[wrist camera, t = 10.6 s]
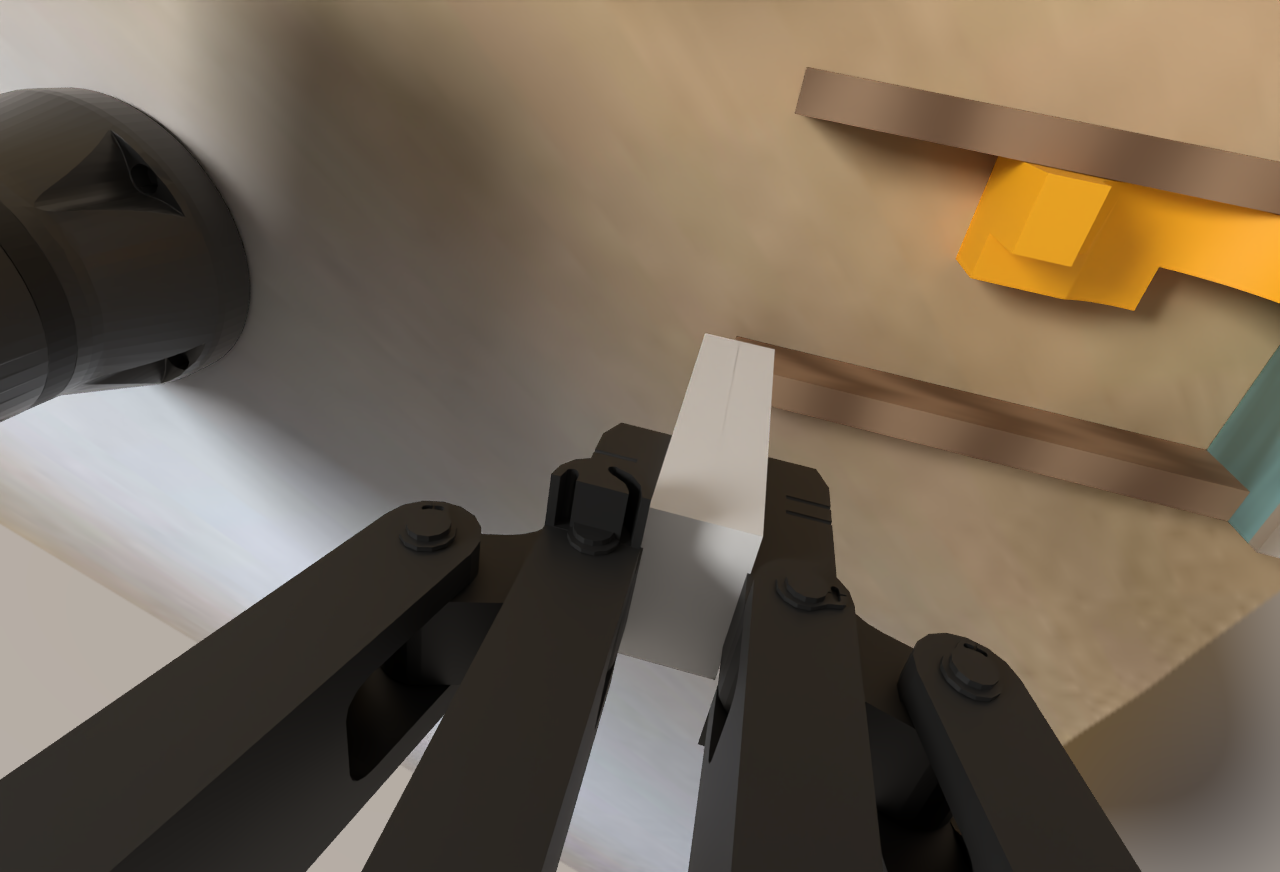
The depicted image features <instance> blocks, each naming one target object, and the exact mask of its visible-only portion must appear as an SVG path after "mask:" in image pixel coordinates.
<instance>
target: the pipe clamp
mask: <svg viewBox="0 0 1280 872" xmlns="http://www.w3.org/2000/svg"><path fill="white" fill-rule="evenodd" d="M956 260H957V261H958V262H959V264H960V265H961V266H962V268H963V269H964V270H965V272H966V273H967V274H968V276H969V277H970V278H973V279H977V280H981V281H986V282H990V283H994V284H999V285H1003V286H1008V287H1012V288H1016V289H1021V290H1025V291H1029V292H1034V293H1038V294H1043V295H1047V296H1051V297H1056V298H1060V299H1068V300H1080V301H1088V302H1095V303H1100V304H1106V305H1111V306H1116V307H1120V308H1124V309H1129V310H1133V311H1134V310H1135V308H1136V306H1137V305H1138V303H1139V301H1140V299H1141V298H1142V296H1143V294H1144V292H1145V291H1146V289H1147V287H1148V285H1149V284H1150V282H1151V280H1152V278H1153V277H1154V275H1155V273H1156V271H1157V270H1158V268H1159V267H1161V268H1165V269H1169V270H1173V271H1177V272H1181V273H1185V274H1189V275H1192V276H1196V277H1199V278H1203V279H1206V280H1210V281H1213V282H1217V283H1220V284H1223V285H1227V286H1230V287H1233V288H1236V289H1239V290H1242V291H1245V292H1248V293H1251V294H1254V295H1257V296H1260V297H1263V298H1266V299H1269V300H1272V301H1275V302H1277V303H1280V214H1275V213H1271V212H1266V211H1261V210H1256V209H1251V208H1247V207H1242V206H1237V205H1232V204H1227V203H1222V202H1218V201H1213V200H1208V199H1203V198H1198V197H1194V196H1189V195H1184V194H1179V193H1174V192H1170V191H1165V190H1160V189H1155V188H1150V187H1145V186H1141V185H1136V184H1131V183H1126V182H1121V181H1117V180H1112V179H1107V178H1102V177H1097V176H1092V175H1088V174H1083V173H1078V172H1073V171H1068V170H1064V169H1059V168H1054V167H1049V166H1044V165H1040V164H1035V163H1030V162H1025V161H1020V160H1015V159H1011V158H1006V157H1001V156H998V158H997V160H996V163H995V165H994V167H993V170H992V172H991V175H990V177H989V180H988V182H987V184H986V187H985V189H984V192H983V194H982V197H981V199H980V201H979V204H978V206H977V209H976V211H975V213H974V216H973V218H972V221H971V223H970V226H969V228H968V230H967V233H966V235H965V238H964V240H963V243H962V245H961V247H960V250H959V252H958V255H957V257H956Z"/></svg>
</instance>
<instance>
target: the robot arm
mask: <svg viewBox="0 0 1280 872" xmlns="http://www.w3.org/2000/svg"><path fill="white" fill-rule="evenodd" d="M249 296H250V284H249V273H248V267H247V261H246V257H245V252H244V249H243V245H242V242H241V239H240V236H239V233H238V230H237V228H236V226H235V223H234V221H233V219H232V216H231V214H230V212H229V210H228V208H227V206H226V204H225V202H224V201H223V199H222V197H221V195H220V194H219V192H218V190H217V189H216V187H215V186H214V184H213V183H212V181H211V180H210V178H209V177H208V175H207V174H206V173H205V171H204V170H203V169H202V167H201V166H200V165H199V164H198V162H197V161H196V160H195V159H194V158H193V156H192V155H191V154H190V153H189V152H188V151H187V150H186V149H185V148H184V147H183V146H182V145H181V144H180V143H179V142H178V141H177V140H176V139H175V138H174V137H173V136H172V135H171V134H170V133H169V132H167V131H166V130H165V129H164V128H163V127H161V126H160V125H159V124H158V123H156V122H155V121H154V120H152V119H151V118H149V117H148V116H147V115H145V114H144V113H142V112H140V111H139V110H137V109H136V108H134V107H132V106H130V105H128V104H126V103H124V102H123V101H120V100H118V99H116V98H114V97H111V96H108V95H105V94H103V93H99V92H96V91H92V90H87V89H81V88H37V89H21V90H15V91H11V92H6V93H2V94H0V422H2V421H4V420H6V419H9V418H11V417H13V416H15V415H17V414H20V413H21V412H23V411H25V410H28V409H30V408H32V407H35V406H37V405H39V404H41V403H44V402H46V401H48V400H51V399H53V398H55V397H58V396H61V395H68V394H77V393H86V392H95V391H104V390H113V389H121V388H130V387H139V386H148V385H157V384H163V383H167V382H171V381H175V380H178V379H181V378H183V377H186V376H188V375H190V374H192V373H194V372H196V371H198V370H200V369H202V368H204V367H206V366H208V365H210V364H212V363H214V362H216V361H217V360H219V359H220V358H222V357H223V356H224V355H225V354H226V353H227V352H228V351H229V350H230V349H231V348H232V347H233V345H234V344H235V343H236V341H237V340H238V338H239V336H240V334H241V332H242V330H243V327H244V324H245V321H246V318H247V313H248V307H249ZM774 352H775V349H771V348H767V347H762V346H758V345H754V344H750V343H745V342H741V341H737V340H733V339H728V338H724V337H720V336H716V335H711V334H707V333H705V335H704V338H703V341H702V344H701V347H700V350H699V354H698V357H697V360H696V363H695V366H694V369H693V372H692V375H691V378H690V382H689V385H688V388H687V391H686V394H685V397H684V400H683V403H682V406H681V410H680V413H679V416H678V419H677V422H676V425H675V428H674V431H673V434H672V435H669V434H665V433H660V432H656V431H652V430H648V429H644V428H640V427H636V426H632V425H628V424H624V423H620V424H618V425H617V426H615V427H613V428H612V429H610V430H608V431H607V432H605V433H603V435H602V437H601V439H600V441H599V443H598V445H597V447H596V449H595V452H594V453H593V455H592V457H591V458H588V459H576V460H573V461H570V462H568V463H565V464H562V465H560V466H559V467H558V468H557V469H556V470H555V471H554V472H553V473H552V474H551V481H550V489H549V497H548V505H547V513H546V520H545V525H544V527H543V529H541V530H539V531H536V532H532V533H527V534H520V535H492V534H481V526H480V524H479V523H478V521H477V519H476V518H475V516H474V515H472V514H471V513H469V512H468V511H466V510H465V509H464V508H462V507H460V506H456V505H453V504H449V503H446V502H437V501H421V502H415V503H410V504H405V505H402V506H400V507H398V508H396V509H394V510H392V511H390V512H388V513H386V514H385V515H383V516H382V517H380V518H379V519H377V520H376V521H375V522H373V523H372V524H370V525H369V526H367V527H366V528H364V529H363V530H362V531H360V532H359V533H357V534H356V535H354V536H353V537H351V538H350V539H348V540H347V541H346V542H344V543H343V544H341V545H340V546H338V547H337V548H335V549H334V550H333V551H331V552H330V553H328V554H327V555H325V556H324V557H322V558H321V559H320V560H318V561H317V562H315V563H314V564H312V565H311V566H309V567H308V568H306V569H305V570H304V571H302V572H301V573H299V574H298V575H296V576H295V577H293V578H292V579H290V580H289V581H288V582H286V583H285V584H283V585H282V586H280V587H279V588H277V589H276V590H275V591H273V592H272V593H270V594H269V595H267V596H266V597H264V598H263V599H262V600H260V601H259V602H257V603H256V604H254V605H253V606H251V607H250V608H248V609H247V610H246V611H244V612H243V613H241V614H240V615H238V616H237V617H235V618H234V619H233V620H231V621H230V622H228V623H227V624H225V625H224V626H222V627H221V628H219V629H218V630H217V631H215V632H214V633H212V634H211V635H209V636H208V637H206V638H205V639H204V640H202V641H201V642H199V643H198V644H196V645H195V646H193V647H192V648H190V649H189V650H188V651H186V652H185V653H183V654H182V655H181V656H179V657H178V658H176V659H175V660H173V661H172V662H170V663H169V664H167V665H166V666H165V667H163V668H162V669H160V670H159V671H157V672H156V673H154V674H153V675H151V676H150V677H148V678H147V679H146V680H144V681H143V682H141V683H140V684H138V685H137V686H135V687H134V688H133V689H131V690H130V691H128V692H127V693H125V694H124V695H122V696H121V697H119V698H118V699H117V700H115V701H114V702H112V703H111V704H109V705H108V706H106V707H105V708H103V709H102V710H101V711H99V712H98V713H97V714H95V715H93V716H92V717H91V718H89V719H88V720H86V721H85V722H83V723H82V724H80V725H79V726H77V727H76V728H75V729H73V730H72V731H70V732H69V733H67V734H66V735H64V736H63V737H62V738H60V739H59V740H57V741H56V742H54V743H53V744H51V745H50V746H48V747H47V748H45V749H44V750H43V751H41V752H40V753H38V754H37V755H35V756H34V757H33V758H31V759H30V760H28V761H27V762H25V763H24V764H22V765H21V766H20V767H18V768H16V769H15V770H14V771H12V772H11V773H9V774H8V775H6V776H5V777H3V778H2V779H1V780H0V872H306V871H307V870H308V868H309V867H310V866H311V865H312V864H313V863H314V862H315V861H316V859H317V858H318V857H319V856H320V855H321V854H322V853H323V851H324V850H325V849H326V848H327V847H328V846H329V845H330V844H331V842H332V841H333V840H334V839H335V838H336V837H337V835H338V834H339V833H340V832H341V831H342V830H343V829H344V828H345V827H346V825H347V824H348V823H349V822H350V821H351V820H352V819H353V817H354V816H355V815H356V814H357V813H358V812H359V811H360V809H361V808H362V807H363V806H364V805H365V804H366V802H368V800H369V799H370V798H371V797H372V796H373V795H374V794H375V793H376V791H377V790H378V789H379V788H380V787H381V786H382V785H383V783H384V782H385V781H386V780H387V779H388V778H389V777H390V775H391V774H392V773H393V772H394V771H395V770H396V769H397V768H398V766H399V765H400V764H401V763H402V762H403V761H404V760H405V758H406V757H407V756H408V755H409V754H410V753H411V752H412V751H413V749H414V748H415V747H416V746H417V745H418V744H419V743H420V741H421V740H422V739H423V738H424V737H425V736H426V735H427V734H428V732H429V731H430V730H431V729H432V728H433V727H434V726H435V724H436V723H437V722H438V721H439V720H440V719H441V718H442V717H443V718H442V720H441V722H440V724H439V726H438V728H437V730H436V732H435V733H434V735H433V737H432V739H431V741H430V743H429V745H428V747H427V749H426V750H425V752H424V754H423V756H422V758H421V760H420V762H419V764H418V766H417V768H416V769H415V771H414V773H413V775H412V777H411V779H410V781H409V783H408V785H407V786H406V788H405V790H404V792H403V794H402V796H401V798H400V800H399V802H398V803H397V806H396V807H395V809H394V811H393V813H392V815H391V817H390V819H389V820H388V822H387V824H386V826H385V828H384V830H383V832H382V834H381V836H380V838H379V839H378V841H377V843H376V845H375V847H374V849H373V851H372V853H371V855H370V856H369V858H368V860H367V862H366V864H365V866H364V868H363V870H362V872H556V870H557V867H558V863H559V860H560V856H561V853H562V849H563V846H564V842H565V839H566V836H567V832H568V829H569V825H570V822H571V818H572V815H573V811H574V808H575V804H576V801H577V797H578V794H579V791H580V787H581V784H582V780H583V777H584V773H585V770H586V766H587V763H588V759H589V756H590V752H591V749H592V746H593V742H594V739H595V735H596V732H597V728H598V725H599V721H600V718H601V714H602V711H603V707H604V704H605V701H606V697H607V694H608V690H609V687H610V683H611V679H612V674H613V670H614V665H615V661H616V657H617V654H618V653H620V654H624V655H627V656H631V657H634V658H638V659H641V660H645V661H649V662H652V663H656V664H659V665H663V666H667V667H670V668H674V669H677V670H681V671H685V672H688V673H692V674H695V675H699V676H703V677H706V678H710V679H713V680H715V678H716V675H717V672H718V669H719V666H720V673H719V681H718V686H717V689H716V692H715V695H714V698H713V701H712V704H711V707H710V710H709V713H708V716H707V719H706V722H705V725H704V727H703V730H702V733H701V736H700V739H699V742H698V744H699V745H703V746H705V748H704V756H703V763H702V771H701V778H700V786H699V793H698V801H697V809H696V816H695V824H694V831H693V839H692V847H691V854H690V862H689V869H688V872H1141V870H1140V869H1139V867H1138V865H1137V864H1136V862H1135V861H1134V859H1133V858H1132V856H1131V854H1130V853H1129V851H1128V850H1127V848H1126V846H1125V845H1124V843H1123V842H1122V840H1121V838H1120V837H1119V835H1118V834H1117V832H1116V831H1115V829H1114V827H1113V826H1112V824H1111V823H1110V821H1109V820H1108V818H1107V816H1106V815H1105V813H1104V812H1103V810H1102V808H1101V807H1100V805H1099V804H1098V802H1097V800H1096V799H1095V797H1094V796H1093V794H1092V792H1091V791H1090V789H1089V788H1088V786H1087V784H1086V783H1085V781H1084V780H1083V778H1082V776H1081V775H1080V773H1079V772H1078V770H1077V769H1076V767H1075V765H1074V764H1073V762H1072V761H1071V759H1070V757H1069V756H1068V754H1067V753H1066V751H1065V749H1064V748H1063V746H1062V745H1061V743H1060V742H1059V740H1058V738H1057V737H1056V735H1055V734H1054V732H1053V730H1052V729H1051V727H1050V726H1049V724H1048V722H1047V721H1046V719H1045V718H1044V716H1043V715H1042V713H1041V711H1040V710H1039V708H1038V707H1037V705H1036V703H1035V702H1034V700H1033V699H1032V697H1031V695H1030V694H1029V692H1028V691H1027V689H1026V688H1025V686H1024V684H1023V683H1022V681H1021V680H1020V678H1019V677H1018V676H1017V675H1016V674H1015V672H1014V671H1013V670H1012V669H1011V668H1010V666H1009V665H1008V664H1007V663H1006V662H1005V661H1003V660H1002V659H1001V658H1000V657H998V656H997V655H996V654H994V653H993V652H992V651H990V650H989V649H988V648H986V647H984V646H982V645H980V644H978V643H976V642H974V641H972V640H970V639H968V638H965V637H961V636H957V635H953V634H949V633H937V634H928V635H927V636H925V637H924V638H922V639H920V640H919V641H917V643H916V645H915V647H914V649H913V648H912V647H910V646H908V645H906V644H904V643H902V642H900V641H898V640H896V639H894V638H892V637H890V636H888V635H886V634H884V633H882V632H880V631H879V630H877V629H875V628H874V627H872V626H870V625H869V624H867V623H866V622H865V621H864V620H862V619H861V618H860V617H859V616H858V615H856V614H855V606H854V603H853V600H852V598H851V595H850V592H849V591H848V590H847V589H846V587H845V586H844V585H843V584H842V583H841V582H840V580H839V579H838V578H837V577H836V566H835V554H834V542H833V530H832V525H831V522H832V518H831V510H830V495H829V487H828V486H827V485H826V483H825V482H824V480H823V479H822V477H821V476H820V474H819V473H818V472H817V470H816V469H813V468H809V467H805V466H801V465H797V464H793V463H789V462H785V461H781V460H777V459H773V458H769V457H768V448H769V432H770V416H771V400H772V384H773V368H774ZM720 663H721V665H720ZM444 714H445V715H444ZM443 715H444V716H443Z"/></svg>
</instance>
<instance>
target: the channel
mask: <svg viewBox="0 0 1280 872" xmlns="http://www.w3.org/2000/svg"><path fill="white" fill-rule="evenodd" d="M795 114H799V115H804V116H809V117H813V118H818V119H823V120H828V121H833V122H837V123H842V124H847V125H852V126H857V127H861V128H866V129H871V130H876V131H881V132H886V133H890V134H895V135H900V136H905V137H910V138H914V139H919V140H924V141H929V142H934V143H938V144H943V145H948V146H953V147H958V148H963V149H967V150H972V151H977V152H982V153H987V154H991V155H996V156H1001V157H1006V158H1011V159H1015V160H1020V161H1025V162H1030V163H1035V164H1040V165H1044V166H1049V167H1054V168H1059V169H1064V170H1068V171H1073V172H1078V173H1083V174H1088V175H1092V176H1097V177H1102V178H1107V179H1112V180H1117V181H1121V182H1126V183H1131V184H1136V185H1141V186H1145V187H1150V188H1155V189H1160V190H1165V191H1170V192H1174V193H1179V194H1184V195H1189V196H1194V197H1198V198H1203V199H1208V200H1213V201H1218V202H1222V203H1227V204H1232V205H1237V206H1242V207H1247V208H1251V209H1256V210H1261V211H1266V212H1271V213H1275V214H1280V162H1278V161H1273V160H1268V159H1263V158H1258V157H1253V156H1248V155H1243V154H1238V153H1233V152H1228V151H1223V150H1218V149H1213V148H1208V147H1203V146H1198V145H1193V144H1188V143H1183V142H1178V141H1173V140H1168V139H1163V138H1158V137H1153V136H1148V135H1143V134H1138V133H1133V132H1128V131H1123V130H1118V129H1113V128H1108V127H1103V126H1098V125H1093V124H1088V123H1083V122H1078V121H1073V120H1068V119H1063V118H1058V117H1053V116H1048V115H1043V114H1038V113H1034V112H1029V111H1024V110H1019V109H1014V108H1009V107H1004V106H999V105H994V104H989V103H984V102H979V101H974V100H969V99H964V98H959V97H954V96H949V95H944V94H939V93H934V92H929V91H924V90H919V89H914V88H909V87H904V86H899V85H894V84H889V83H884V82H879V81H874V80H869V79H864V78H859V77H854V76H849V75H844V74H839V73H834V72H829V71H824V70H819V69H814V68H809V67H807V69H806V72H805V76H804V80H803V84H802V88H801V92H800V95H799V99H798V103H797V107H796V111H795ZM736 340H737V341H741V342H745V343H750V344H754V345H758V346H762V347H767V348H771V349H775V352H774V368H773V384H772V400H771V407H775V408H779V409H783V410H787V411H791V412H795V413H799V414H803V415H807V416H811V417H815V418H819V419H823V420H827V421H831V422H835V423H839V424H843V425H847V426H851V427H855V428H859V429H863V430H867V431H871V432H875V433H879V434H883V435H886V436H890V437H894V438H898V439H902V440H906V441H910V442H914V443H918V444H922V445H926V446H930V447H934V448H938V449H942V450H946V451H950V452H954V453H958V454H962V455H966V456H970V457H974V458H978V459H982V460H986V461H990V462H994V463H998V464H1002V465H1006V466H1010V467H1014V468H1018V469H1022V470H1026V471H1030V472H1034V473H1038V474H1042V475H1046V476H1050V477H1053V478H1057V479H1061V480H1065V481H1069V482H1073V483H1077V484H1081V485H1085V486H1089V487H1093V488H1097V489H1101V490H1105V491H1109V492H1113V493H1117V494H1121V495H1125V496H1129V497H1133V498H1137V499H1141V500H1145V501H1149V502H1153V503H1157V504H1161V505H1165V506H1169V507H1173V508H1177V509H1181V510H1185V511H1189V512H1193V513H1197V514H1201V515H1205V516H1209V517H1213V518H1216V519H1220V520H1224V521H1228V522H1229V523H1230V524H1231V525H1232V526H1233V527H1234V528H1235V530H1236V531H1237V532H1238V533H1239V534H1240V535H1241V536H1242V537H1243V538H1244V539H1245V540H1246V541H1247V543H1248V544H1249V545H1250V546H1251V547H1252V548H1253V549H1254V550H1255V551H1256V552H1257V553H1261V554H1265V555H1269V556H1273V557H1277V558H1280V345H1279V347H1278V348H1277V350H1276V351H1275V353H1274V354H1273V356H1272V357H1271V358H1270V360H1269V361H1268V363H1267V364H1266V366H1265V367H1264V368H1263V370H1262V371H1261V373H1260V374H1259V376H1258V377H1257V379H1256V380H1255V381H1254V383H1253V384H1252V386H1251V387H1250V389H1249V390H1248V391H1247V393H1246V394H1245V396H1244V397H1243V399H1242V400H1241V402H1240V403H1239V404H1238V406H1237V407H1236V409H1235V410H1234V412H1233V413H1232V414H1231V416H1230V417H1229V419H1228V420H1227V422H1226V423H1225V425H1224V426H1223V427H1222V429H1221V430H1220V432H1219V433H1218V435H1217V436H1216V437H1215V439H1214V440H1213V442H1212V443H1211V445H1210V446H1209V447H1208V449H1207V450H1204V449H1200V448H1196V447H1191V446H1187V445H1183V444H1179V443H1175V442H1171V441H1167V440H1163V439H1158V438H1154V437H1150V436H1146V435H1142V434H1138V433H1134V432H1130V431H1125V430H1121V429H1117V428H1113V427H1109V426H1105V425H1101V424H1097V423H1092V422H1088V421H1084V420H1080V419H1076V418H1072V417H1068V416H1064V415H1059V414H1055V413H1051V412H1047V411H1043V410H1039V409H1035V408H1031V407H1026V406H1022V405H1018V404H1014V403H1010V402H1006V401H1002V400H998V399H993V398H989V397H985V396H981V395H977V394H973V393H969V392H965V391H960V390H956V389H952V388H948V387H944V386H940V385H936V384H932V383H927V382H923V381H919V380H915V379H911V378H907V377H903V376H899V375H894V374H890V373H886V372H882V371H878V370H874V369H870V368H866V367H861V366H857V365H853V364H849V363H845V362H841V361H837V360H833V359H828V358H824V357H820V356H816V355H812V354H808V353H804V352H800V351H795V350H791V349H787V348H783V347H779V346H775V345H771V344H767V343H762V342H758V341H754V340H750V339H746V338H742V337H738V336H737V337H736Z"/></svg>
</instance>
